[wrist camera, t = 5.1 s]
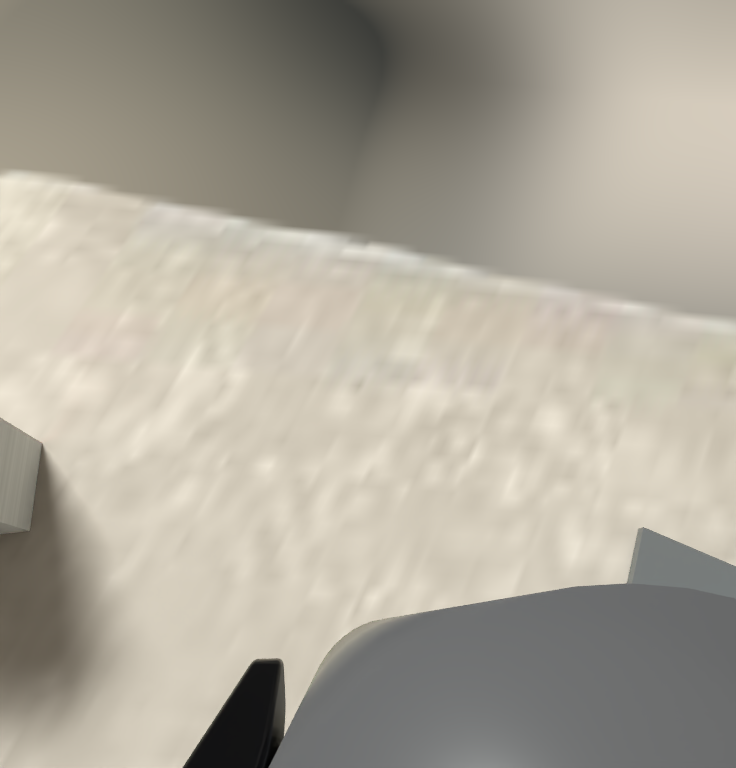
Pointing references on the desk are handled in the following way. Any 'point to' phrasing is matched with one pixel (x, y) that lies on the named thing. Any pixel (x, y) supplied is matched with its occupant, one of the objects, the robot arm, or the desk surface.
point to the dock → (679, 566)
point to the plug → (530, 685)
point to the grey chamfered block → (17, 478)
